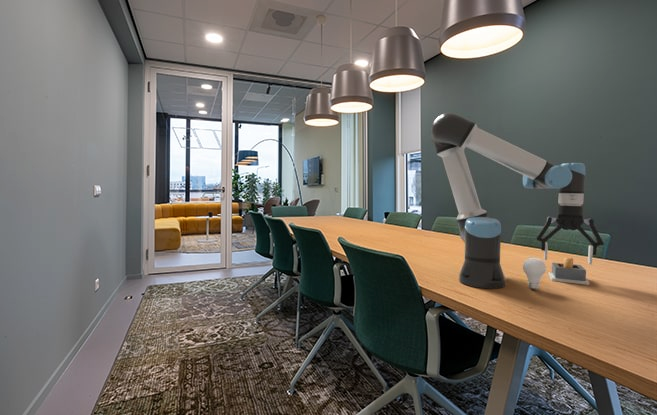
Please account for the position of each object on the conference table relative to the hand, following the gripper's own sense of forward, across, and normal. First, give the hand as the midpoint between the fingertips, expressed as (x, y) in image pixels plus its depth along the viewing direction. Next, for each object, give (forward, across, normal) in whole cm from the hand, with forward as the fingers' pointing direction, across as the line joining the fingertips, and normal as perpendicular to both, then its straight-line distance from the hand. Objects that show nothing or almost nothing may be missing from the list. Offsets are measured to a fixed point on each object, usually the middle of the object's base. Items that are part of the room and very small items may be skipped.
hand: (566, 261), depth 122 cm
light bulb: (+7, -12, -20) cm, 25 cm away
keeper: (+7, +1, 0) cm, 7 cm away
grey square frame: (+6, +1, 0) cm, 6 cm away
